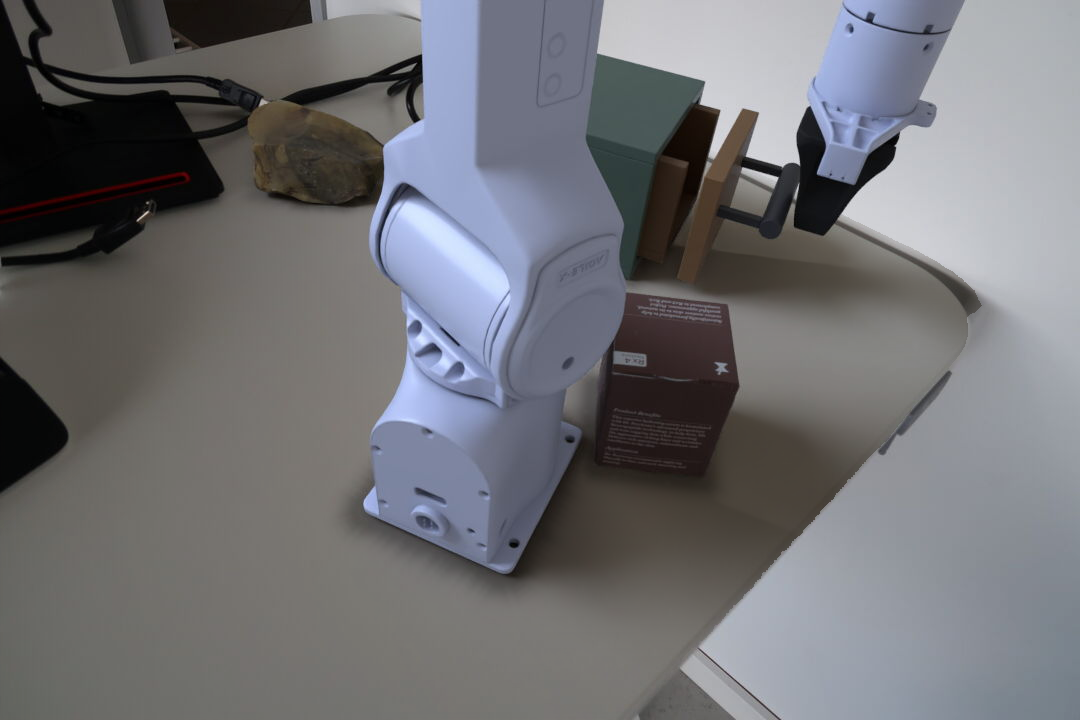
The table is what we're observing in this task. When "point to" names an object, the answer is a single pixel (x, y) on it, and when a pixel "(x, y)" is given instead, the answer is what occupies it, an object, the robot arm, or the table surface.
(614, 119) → the cabinet
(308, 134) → the decorative stone
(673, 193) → the drawer
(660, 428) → the box
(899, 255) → the table surface
